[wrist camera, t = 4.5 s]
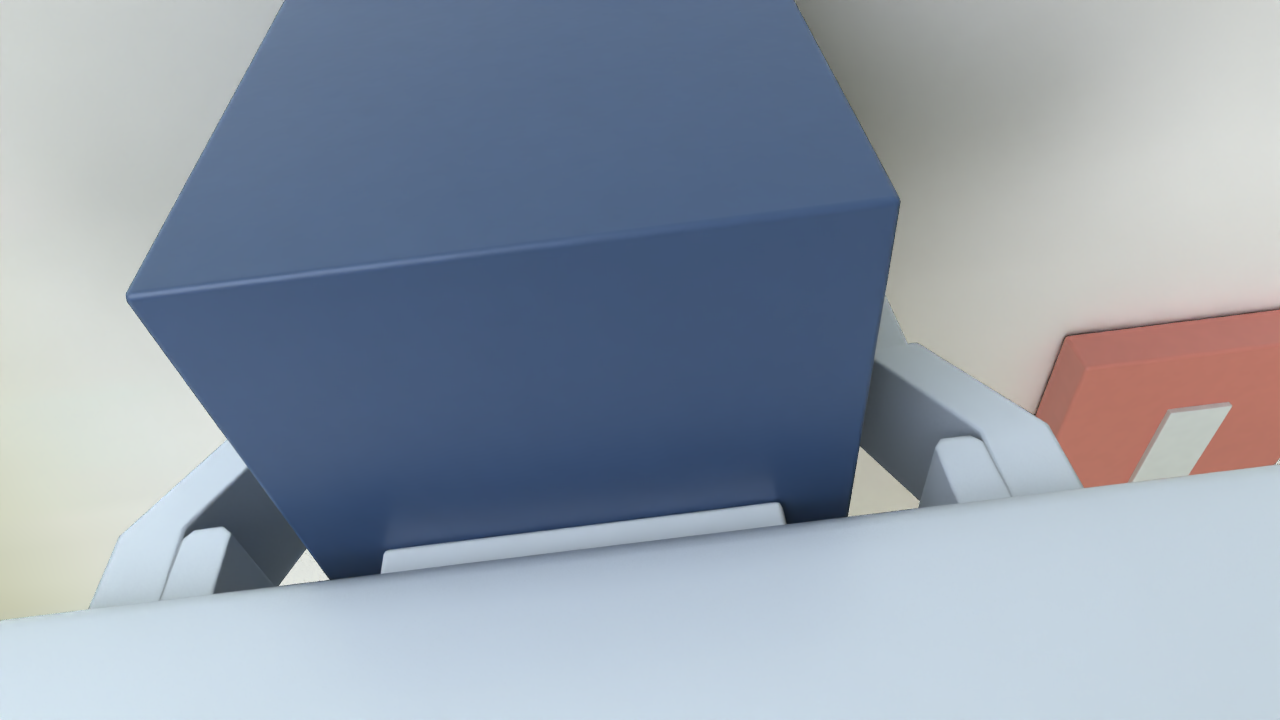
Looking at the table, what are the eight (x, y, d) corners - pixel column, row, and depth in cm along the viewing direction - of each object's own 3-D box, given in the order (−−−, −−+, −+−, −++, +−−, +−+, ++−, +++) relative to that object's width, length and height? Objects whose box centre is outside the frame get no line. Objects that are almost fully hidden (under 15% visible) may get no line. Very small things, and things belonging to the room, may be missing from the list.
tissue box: (318, -68, 12) (88, 352, 6) (731, -121, 12) (931, 249, 6) (478, 391, 19) (450, 792, 13) (735, 360, 19) (826, 747, 13)
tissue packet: (1064, 334, 21) (1089, 373, 20) (1341, 300, 20) (1380, 337, 20) (983, 548, 28) (998, 584, 27) (1188, 523, 28) (1212, 557, 27)
